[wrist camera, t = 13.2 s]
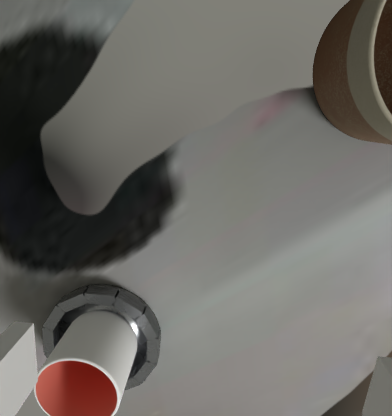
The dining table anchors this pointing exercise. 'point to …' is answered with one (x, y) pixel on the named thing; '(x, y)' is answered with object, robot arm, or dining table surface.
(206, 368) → the dining table surface
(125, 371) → the cup
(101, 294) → the ring coaster
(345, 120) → the planter
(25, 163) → the dining table surface
